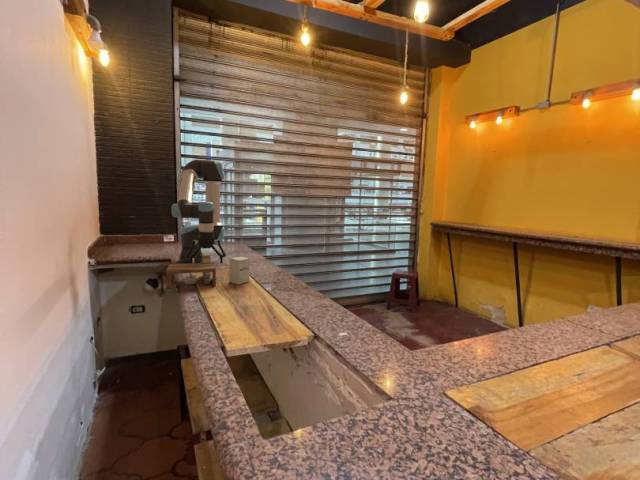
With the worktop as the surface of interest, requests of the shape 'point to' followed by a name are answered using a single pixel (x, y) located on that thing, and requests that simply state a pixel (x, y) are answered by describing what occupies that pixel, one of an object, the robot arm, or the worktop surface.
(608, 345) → the worktop surface
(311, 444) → the worktop surface
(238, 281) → the grey canister
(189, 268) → the brown wooden stand
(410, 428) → the worktop surface
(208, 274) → the tan wood-grain block
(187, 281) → the brown square block
